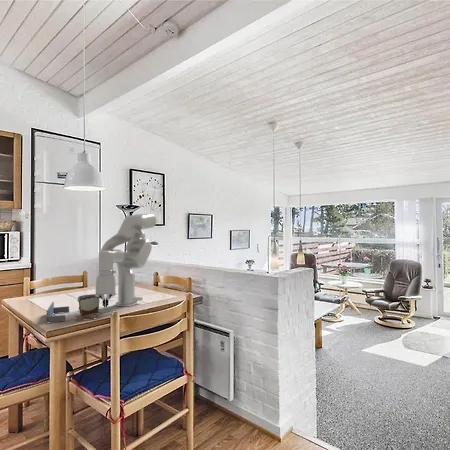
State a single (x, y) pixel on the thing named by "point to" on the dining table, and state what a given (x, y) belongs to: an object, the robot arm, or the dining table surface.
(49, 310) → the slate stop bracket
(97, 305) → the food container
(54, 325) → the dining table surface
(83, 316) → the walnut sleeve
